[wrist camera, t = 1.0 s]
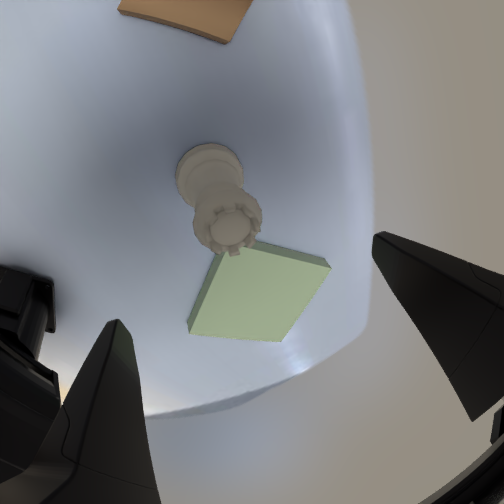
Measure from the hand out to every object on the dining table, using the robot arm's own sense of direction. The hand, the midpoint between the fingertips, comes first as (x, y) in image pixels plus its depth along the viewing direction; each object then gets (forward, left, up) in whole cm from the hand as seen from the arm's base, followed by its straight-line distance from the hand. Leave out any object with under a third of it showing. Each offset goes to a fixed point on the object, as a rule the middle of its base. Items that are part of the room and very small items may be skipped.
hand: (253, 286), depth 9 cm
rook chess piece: (0, 0, -12) cm, 12 cm away
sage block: (-9, -8, -13) cm, 18 cm away
